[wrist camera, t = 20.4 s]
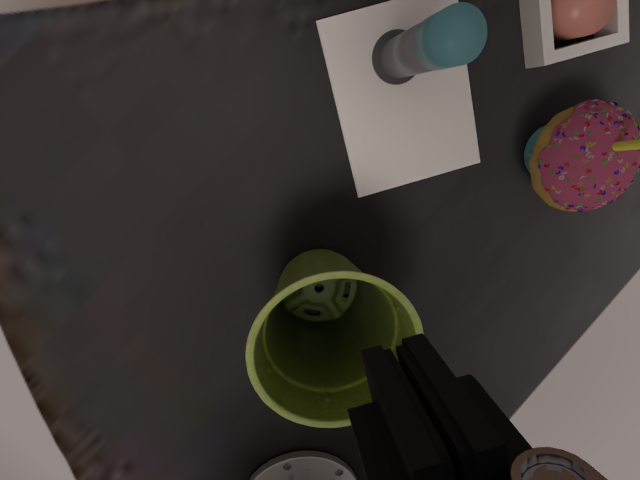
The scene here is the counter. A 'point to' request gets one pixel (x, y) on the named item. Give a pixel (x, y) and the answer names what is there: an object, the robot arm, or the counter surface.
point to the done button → (579, 17)
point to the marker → (436, 42)
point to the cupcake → (584, 156)
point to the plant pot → (323, 338)
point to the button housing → (542, 44)
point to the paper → (395, 100)
